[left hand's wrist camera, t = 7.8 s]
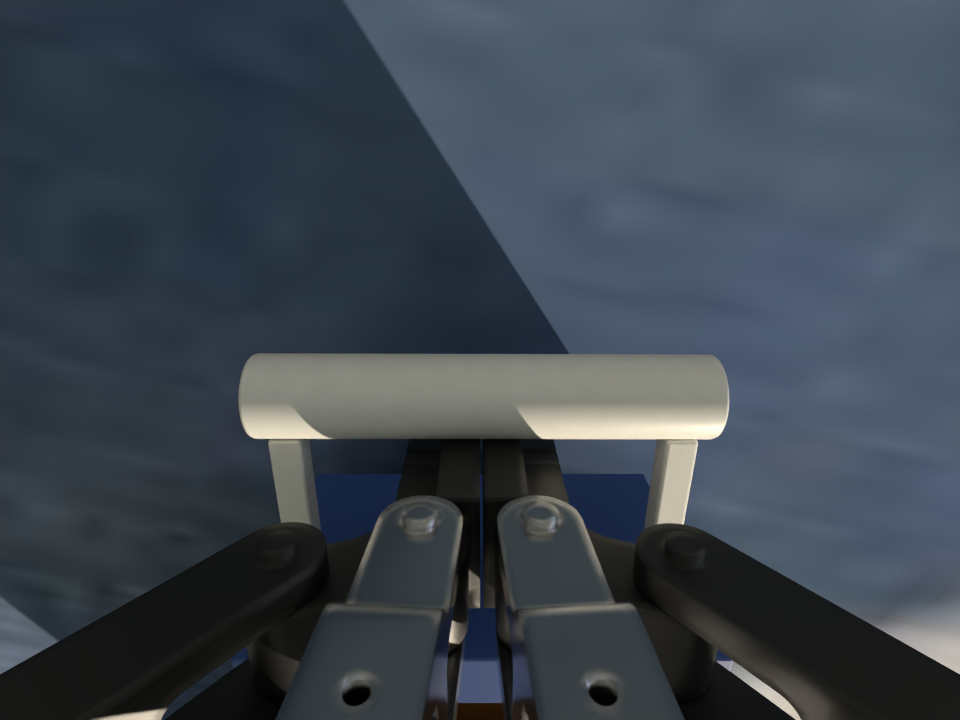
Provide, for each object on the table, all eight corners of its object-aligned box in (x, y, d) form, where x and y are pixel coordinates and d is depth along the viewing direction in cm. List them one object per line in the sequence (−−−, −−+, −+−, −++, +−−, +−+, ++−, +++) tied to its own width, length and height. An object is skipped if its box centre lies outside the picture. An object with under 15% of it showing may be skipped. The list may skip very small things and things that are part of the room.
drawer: (293, 288, 14) (168, 397, 8) (669, 289, 14) (800, 397, 8) (358, 800, 22) (316, 1035, 16) (598, 799, 22) (640, 1032, 16)
